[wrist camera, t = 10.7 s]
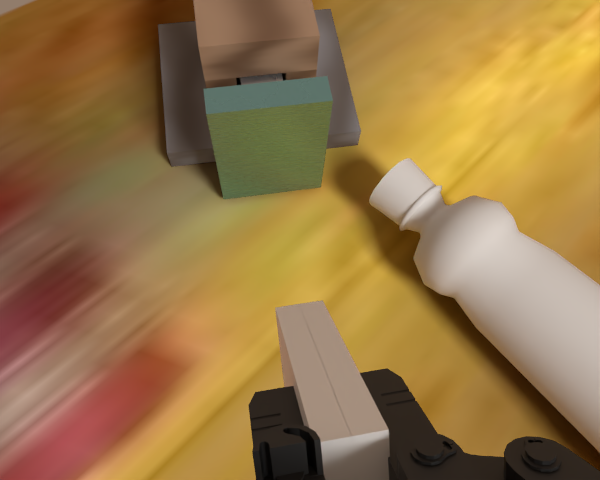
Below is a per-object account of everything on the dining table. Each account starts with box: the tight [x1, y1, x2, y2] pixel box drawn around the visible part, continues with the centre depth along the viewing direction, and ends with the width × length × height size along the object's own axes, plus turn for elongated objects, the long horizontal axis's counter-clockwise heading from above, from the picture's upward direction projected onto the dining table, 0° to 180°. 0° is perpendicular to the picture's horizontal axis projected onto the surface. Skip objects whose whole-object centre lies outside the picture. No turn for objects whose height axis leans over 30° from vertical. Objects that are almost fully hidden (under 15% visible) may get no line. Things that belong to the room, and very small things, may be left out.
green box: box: [203, 73, 333, 199], centre depth 42 cm, size 8×18×11 cm, turn 9°
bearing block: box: [158, 0, 361, 167], centre depth 43 cm, size 16×14×12 cm
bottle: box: [369, 159, 600, 453], centre depth 36 cm, size 9×9×30 cm
